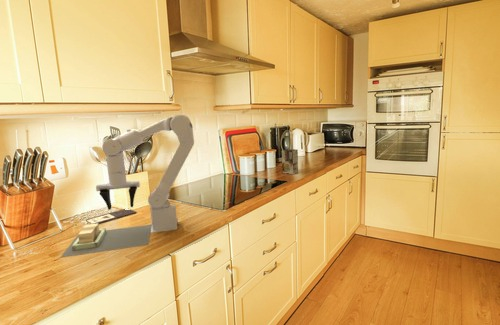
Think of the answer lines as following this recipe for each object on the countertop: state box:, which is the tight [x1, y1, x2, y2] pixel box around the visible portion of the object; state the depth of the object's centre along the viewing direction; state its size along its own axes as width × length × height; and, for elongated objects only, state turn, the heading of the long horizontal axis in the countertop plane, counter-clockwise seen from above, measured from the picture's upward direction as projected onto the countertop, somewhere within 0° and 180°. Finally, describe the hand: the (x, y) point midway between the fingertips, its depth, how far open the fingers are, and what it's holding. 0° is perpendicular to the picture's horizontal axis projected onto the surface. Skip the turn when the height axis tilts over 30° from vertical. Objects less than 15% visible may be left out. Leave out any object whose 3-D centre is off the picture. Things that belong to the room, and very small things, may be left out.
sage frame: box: [72, 228, 107, 250], centre depth 102 cm, size 8×13×2 cm, turn 14°
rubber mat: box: [59, 224, 152, 258], centre depth 103 cm, size 26×19×1 cm
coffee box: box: [281, 148, 299, 175], centre depth 200 cm, size 9×6×16 cm
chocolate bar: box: [85, 208, 137, 225], centre depth 128 cm, size 9×1×18 cm
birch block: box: [77, 223, 100, 244], centre depth 102 cm, size 9×4×4 cm, turn 14°
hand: (121, 207), depth 109 cm, fingers open, 7 cm apart
